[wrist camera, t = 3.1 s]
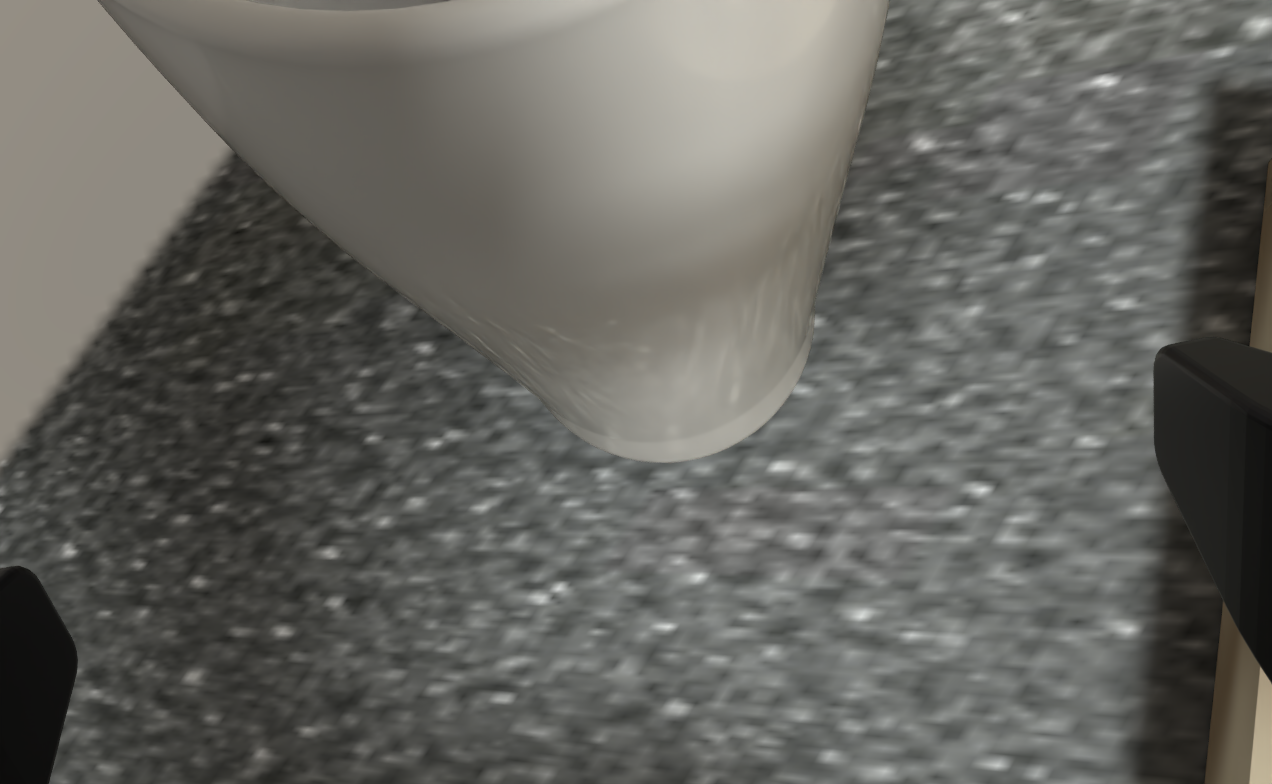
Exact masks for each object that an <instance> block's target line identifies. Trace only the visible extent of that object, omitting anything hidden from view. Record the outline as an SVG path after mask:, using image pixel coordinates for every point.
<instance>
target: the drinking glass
mask: <svg viewBox="0 0 1272 784" xmlns="http://www.w3.org/2000/svg"><path fill="white" fill-rule="evenodd" d="M98 2H99V3H100V4H101V5H102V6H103V8H104V9H105V10H106V11H107V12H108V13H109V15H110V16H111V17H112V18H113V19H114V20H115V21H116V23H117V24H118V25H119V26H120V27H121V29H122V30H123V31H124V32H125V33H126V34H127V36H128V37H129V38H130V39H131V40H132V41H133V42H134V44H136V46H137V47H138V48H139V49H140V50H141V52H142V53H143V54H144V55H145V56H146V57H147V58H148V59H149V60H150V62H151V63H152V64H153V65H154V66H155V67H156V68H157V70H158V71H159V72H160V73H161V74H162V75H163V76H164V77H165V78H166V79H167V80H168V82H169V83H170V84H171V85H172V86H173V87H174V88H175V89H176V90H177V91H178V92H179V93H180V95H181V96H182V97H183V98H184V99H185V100H186V101H187V102H188V103H189V104H190V105H191V106H192V107H193V109H194V110H195V111H196V112H197V113H198V114H199V115H200V116H201V117H202V118H203V119H204V121H205V122H206V123H207V124H208V125H209V126H210V127H211V128H212V129H213V130H214V131H215V132H216V133H217V134H218V135H219V136H220V137H221V138H222V139H223V140H224V141H225V143H226V144H227V145H228V146H229V147H230V148H231V149H232V150H233V151H234V152H235V153H236V154H237V155H238V156H239V157H240V158H241V159H242V160H243V161H244V162H245V163H246V164H247V165H248V166H249V167H250V168H251V169H252V170H253V171H254V172H255V173H257V174H258V175H259V176H260V177H261V178H262V179H263V180H264V181H265V182H266V183H267V184H268V185H269V186H270V187H271V188H272V189H273V190H274V191H275V192H277V193H278V194H279V195H280V196H281V197H282V198H283V199H284V200H285V201H286V202H288V203H289V204H290V205H291V206H292V207H293V208H294V209H295V210H296V211H297V212H299V213H300V214H301V215H302V216H303V217H304V218H306V219H307V220H308V221H309V222H310V223H311V224H313V225H314V226H315V227H316V228H317V229H318V230H320V231H321V232H322V233H323V234H324V235H325V236H327V237H328V238H329V239H330V240H331V241H333V242H334V243H335V244H336V245H337V246H339V247H340V248H341V249H342V250H343V251H345V252H346V253H347V254H348V255H349V256H351V257H352V258H353V259H355V260H356V261H357V262H359V263H360V264H361V265H362V266H364V267H365V268H366V269H368V270H369V271H370V272H371V273H373V274H374V275H375V276H377V277H378V278H379V279H381V280H382V281H383V282H385V283H386V284H387V285H389V286H390V287H391V288H393V289H394V290H395V291H397V292H398V293H399V294H401V295H402V296H403V297H405V298H406V299H407V300H409V301H410V302H412V303H413V304H414V305H416V306H417V307H418V308H420V309H421V310H422V311H424V312H425V313H426V314H428V315H429V316H430V317H432V318H433V319H434V320H436V321H437V322H439V323H440V324H441V325H443V326H444V327H445V328H447V329H448V330H449V331H451V332H452V333H453V334H455V335H456V336H457V337H459V338H460V339H462V340H463V341H464V342H465V343H467V344H468V345H469V346H471V347H472V348H473V349H475V350H476V351H477V352H479V353H480V354H481V355H483V356H484V357H485V358H487V359H488V360H489V361H491V362H492V363H493V364H495V365H496V366H497V367H499V368H500V369H501V370H503V371H504V372H505V373H506V374H508V375H509V376H510V377H512V378H513V379H514V380H516V381H517V382H518V383H520V384H521V385H522V386H523V387H525V388H526V389H527V390H528V391H530V392H531V393H532V394H534V395H535V396H536V397H537V398H539V399H540V400H541V402H542V403H543V404H544V405H545V407H546V408H547V409H548V410H549V411H550V412H551V413H552V414H553V415H554V416H555V418H556V419H557V420H558V421H559V422H560V423H561V424H563V425H564V426H565V427H566V428H567V429H568V430H570V431H571V432H572V433H573V434H575V435H576V436H578V437H579V438H581V439H582V440H584V441H585V442H587V443H589V444H591V445H592V446H594V447H596V448H598V449H600V450H603V451H605V452H607V453H610V454H613V455H616V456H619V457H622V458H626V459H631V460H636V461H642V462H651V463H673V462H684V461H689V460H695V459H699V458H703V457H706V456H710V455H713V454H715V453H718V452H720V451H723V450H725V449H728V448H729V447H731V446H733V445H735V444H737V443H739V442H741V441H742V440H744V439H746V438H747V437H749V436H750V435H752V434H753V433H754V432H756V431H757V430H758V429H759V428H761V427H762V426H763V425H764V424H765V423H766V422H767V421H769V420H770V419H771V418H772V417H773V416H774V415H775V414H776V412H777V411H778V410H779V409H780V408H781V407H782V405H783V404H784V403H785V401H786V400H787V399H788V397H789V396H790V394H791V393H792V391H793V390H794V388H795V386H796V384H797V383H798V381H799V379H800V377H801V374H802V372H803V370H804V368H805V365H806V362H807V359H808V356H809V353H810V349H811V344H812V340H813V333H814V324H815V301H816V297H817V293H818V289H819V285H820V281H821V277H822V273H823V269H824V265H825V261H826V257H827V253H828V249H829V245H830V241H831V237H832V234H833V230H834V226H835V222H836V218H837V215H838V211H839V207H840V203H841V200H842V196H843V192H844V189H845V185H846V181H847V177H848V174H849V170H850V166H851V163H852V159H853V155H854V152H855V148H856V144H857V140H858V137H859V133H860V129H861V126H862V122H863V118H864V114H865V111H866V107H867V103H868V99H869V95H870V91H871V87H872V83H873V79H874V75H875V71H876V66H877V62H878V57H879V52H880V47H881V42H882V38H883V33H884V28H885V23H886V18H887V14H888V9H889V4H890V0H98Z"/></svg>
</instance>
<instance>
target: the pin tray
mask: <svg viewBox="0 0 1272 784" xmlns="http://www.w3.org/2000/svg"><path fill="white" fill-rule="evenodd" d="M1250 347H1254V348H1257V349H1261V350H1264V351H1268V352H1271V353H1272V159H1271V160H1270V161H1269V163H1268V172H1267V182H1266V192H1265V202H1264V211H1263V221H1262V231H1261V240H1260V250H1259V260H1258V269H1257V279H1256V289H1255V299H1254V308H1253V318H1252V328H1251V337H1250ZM1205 784H1272V684H1271V682H1270V680H1269V679H1268V677H1267V676H1266V674H1265V673H1264V671H1263V670H1262V668H1261V667H1260V665H1259V663H1258V662H1257V660H1256V659H1255V657H1254V656H1253V654H1252V652H1251V651H1250V649H1249V647H1248V646H1247V644H1246V642H1245V641H1244V639H1243V637H1242V636H1241V634H1240V632H1239V631H1238V629H1237V627H1236V625H1235V623H1234V621H1233V619H1232V617H1231V615H1230V613H1229V611H1228V609H1227V607H1226V606H1225V603H1224V601H1223V609H1222V619H1221V628H1220V638H1219V648H1218V658H1217V667H1216V677H1215V687H1214V696H1213V706H1212V716H1211V725H1210V735H1209V745H1208V755H1207V764H1206V774H1205Z"/></svg>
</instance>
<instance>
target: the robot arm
mask: <svg viewBox="0 0 1272 784" xmlns="http://www.w3.org/2000/svg"><path fill="white" fill-rule="evenodd" d="M1153 374H1154V446H1155V453H1156V457H1157V461H1158V464H1159V467H1160V470H1161V472H1162V475H1163V477H1164V479H1165V481H1166V483H1167V485H1168V487H1169V489H1170V491H1171V494H1172V496H1173V498H1174V500H1175V502H1176V504H1177V506H1178V508H1179V510H1180V512H1181V514H1182V516H1183V518H1184V521H1185V523H1186V525H1187V527H1188V529H1189V531H1190V533H1191V535H1192V537H1193V539H1194V541H1195V543H1196V545H1197V547H1198V550H1199V552H1200V554H1201V556H1202V558H1203V560H1204V562H1205V564H1206V566H1207V568H1208V570H1209V572H1210V574H1211V577H1212V579H1213V581H1214V583H1215V585H1216V587H1217V589H1218V591H1219V593H1220V595H1221V597H1222V599H1223V601H1224V603H1225V606H1226V607H1227V609H1228V611H1229V613H1230V615H1231V617H1232V619H1233V621H1234V623H1235V625H1236V627H1237V629H1238V631H1239V632H1240V634H1241V636H1242V637H1243V639H1244V641H1245V642H1246V644H1247V646H1248V647H1249V649H1250V651H1251V652H1252V654H1253V656H1254V657H1255V659H1256V660H1257V662H1258V663H1259V665H1260V667H1261V668H1262V670H1263V671H1264V673H1265V674H1266V676H1267V677H1268V679H1269V680H1270V682H1271V684H1272V353H1271V352H1268V351H1264V350H1261V349H1257V348H1254V347H1250V346H1247V345H1243V344H1240V343H1236V342H1233V341H1229V340H1226V339H1223V338H1219V337H1206V338H1201V339H1196V340H1191V341H1185V342H1180V343H1175V344H1170V345H1167V346H1164V347H1162V348H1161V349H1160V350H1159V352H1158V353H1157V355H1156V358H1155V362H1154V371H1153ZM77 663H78V658H77V651H76V647H75V644H74V641H73V639H72V637H71V635H70V633H69V632H68V630H67V628H66V626H65V625H64V623H63V621H62V619H61V618H60V616H59V614H58V612H57V610H56V609H55V607H54V605H53V603H52V602H51V600H50V598H49V596H48V595H47V593H46V591H45V589H44V588H43V586H42V584H41V582H40V581H39V579H38V578H37V576H36V575H35V574H34V573H33V572H31V571H30V570H29V569H27V568H24V567H21V566H11V567H6V568H0V784H49V781H50V777H51V773H52V769H53V765H54V761H55V757H56V753H57V749H58V745H59V741H60V737H61V733H62V729H63V725H64V721H65V717H66V713H67V709H68V706H69V702H70V698H71V694H72V690H73V686H74V682H75V678H76V674H77Z"/></svg>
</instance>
